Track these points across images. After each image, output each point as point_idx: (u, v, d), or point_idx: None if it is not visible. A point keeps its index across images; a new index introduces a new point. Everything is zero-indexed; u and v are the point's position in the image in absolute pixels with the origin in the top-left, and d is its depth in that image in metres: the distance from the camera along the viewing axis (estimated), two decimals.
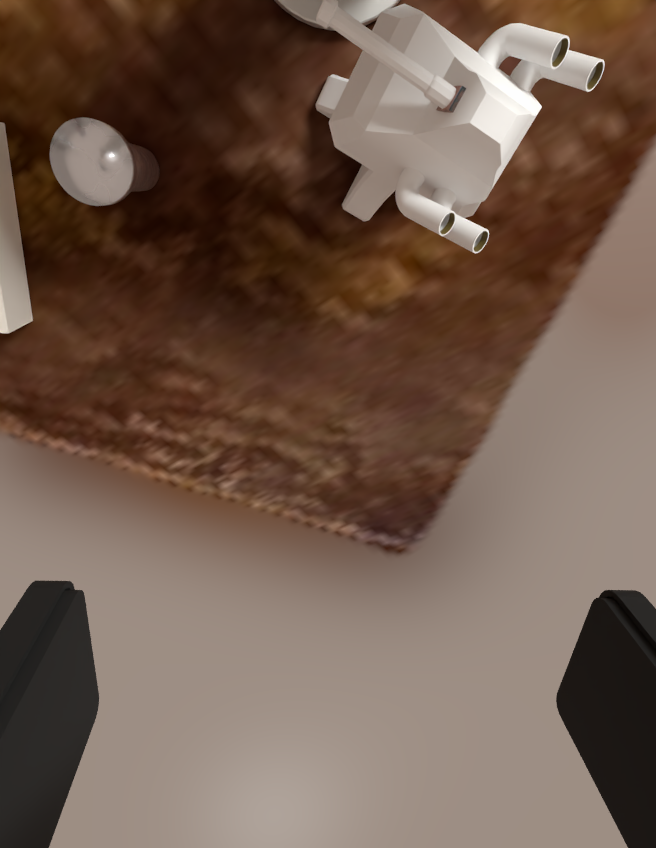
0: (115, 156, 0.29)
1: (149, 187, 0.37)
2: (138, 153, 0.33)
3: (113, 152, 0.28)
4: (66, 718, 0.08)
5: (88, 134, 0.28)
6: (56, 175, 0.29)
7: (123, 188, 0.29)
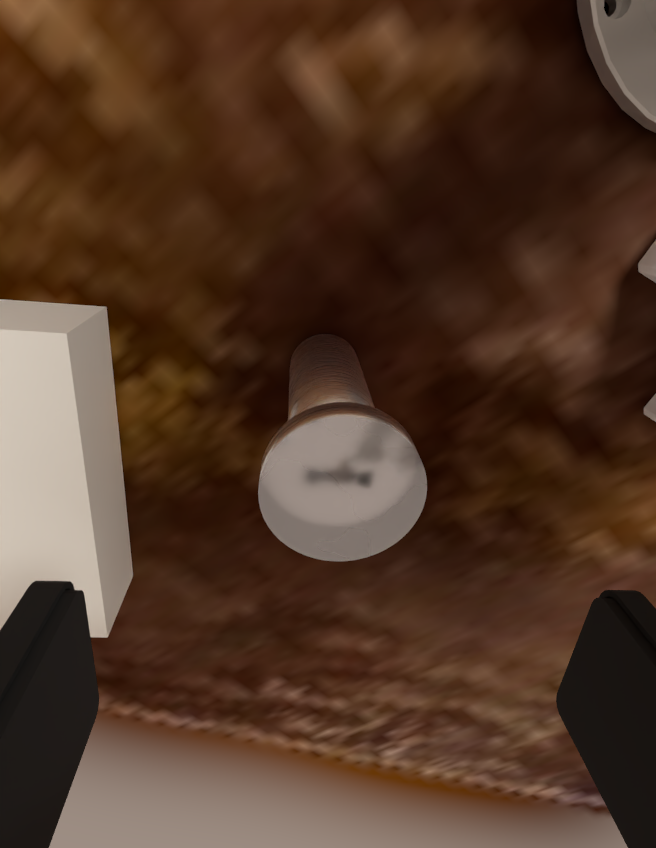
0: (396, 481, 0.13)
1: None
2: (366, 388, 0.18)
3: (393, 475, 0.13)
4: (66, 718, 0.08)
5: (348, 447, 0.13)
6: (266, 517, 0.14)
7: (399, 532, 0.14)
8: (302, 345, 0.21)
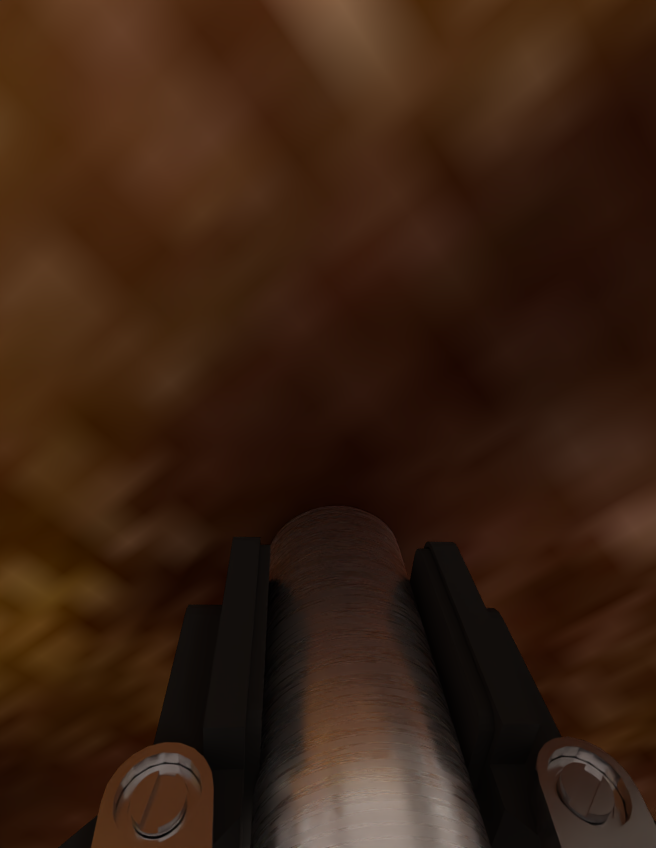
0: None
1: None
2: (449, 725, 0.07)
3: None
4: None
5: None
6: None
7: None
8: (290, 535, 0.11)
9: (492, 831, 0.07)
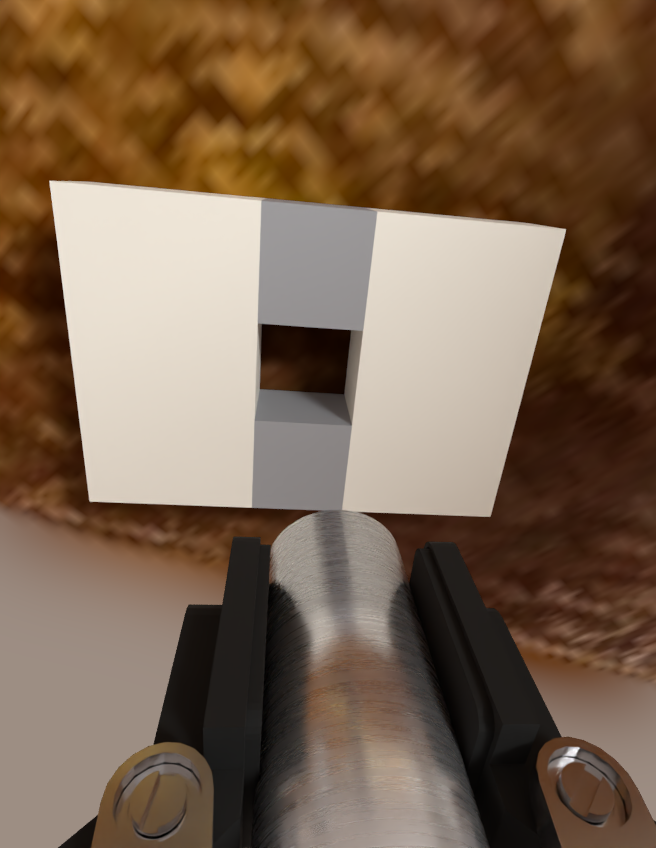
0: None
1: None
2: (450, 732, 0.07)
3: None
4: None
5: None
6: None
7: None
8: (290, 540, 0.11)
9: (492, 831, 0.07)
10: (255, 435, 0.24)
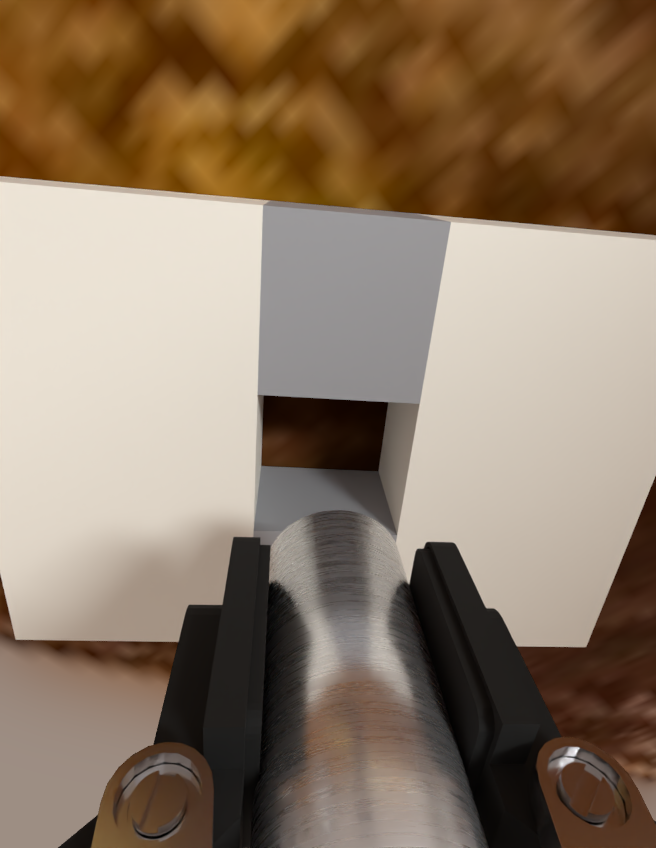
0: None
1: None
2: (449, 733, 0.07)
3: None
4: None
5: None
6: None
7: None
8: (290, 540, 0.11)
9: (492, 831, 0.07)
10: None
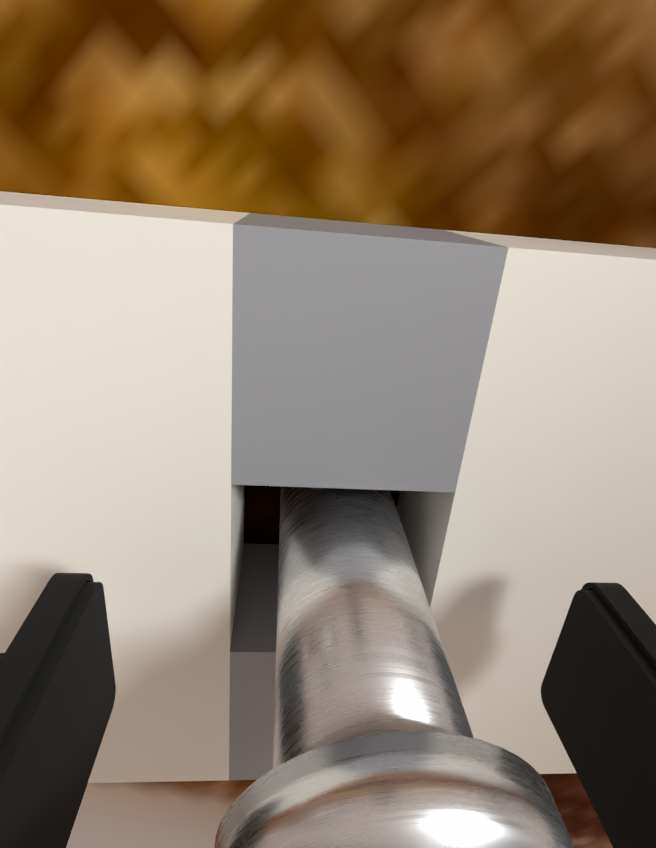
0: None
1: None
2: (412, 563, 0.10)
3: None
4: (87, 706, 0.08)
5: None
6: None
7: None
8: None
9: None
10: (232, 675, 0.12)
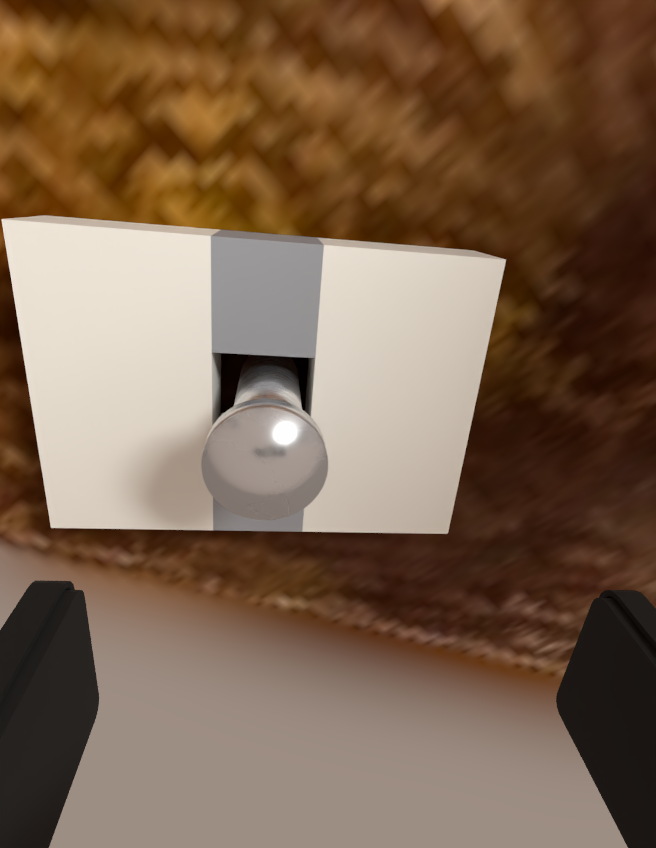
0: (304, 457, 0.18)
1: None
2: (296, 391, 0.23)
3: (302, 452, 0.18)
4: (66, 718, 0.08)
5: (266, 431, 0.17)
6: (208, 486, 0.18)
7: (310, 497, 0.19)
8: (249, 357, 0.26)
9: None
10: None
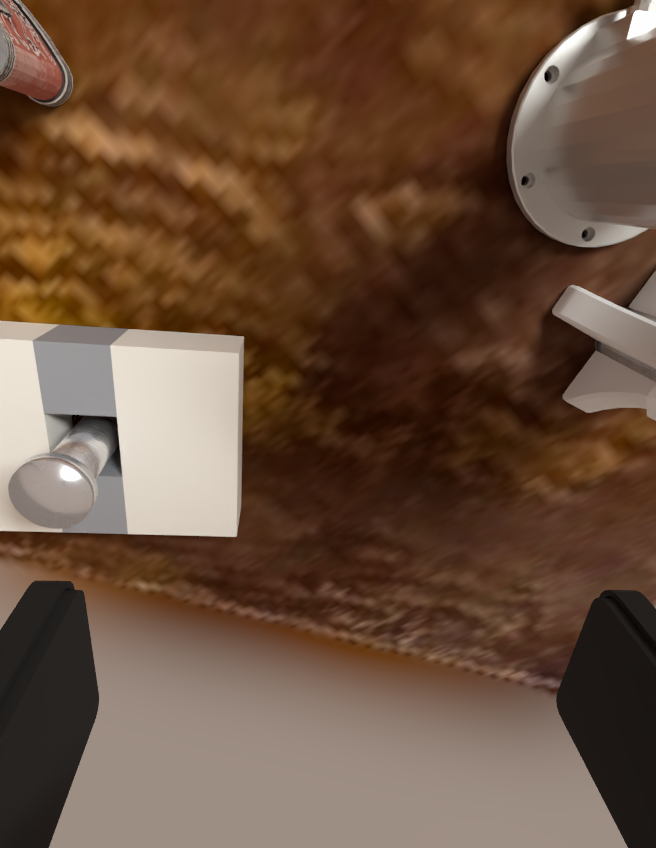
0: (74, 489, 0.28)
1: None
2: (103, 439, 0.33)
3: (72, 486, 0.28)
4: (66, 718, 0.08)
5: (46, 474, 0.28)
6: (16, 507, 0.29)
7: (83, 514, 0.29)
8: None
9: None
10: None
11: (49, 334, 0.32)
